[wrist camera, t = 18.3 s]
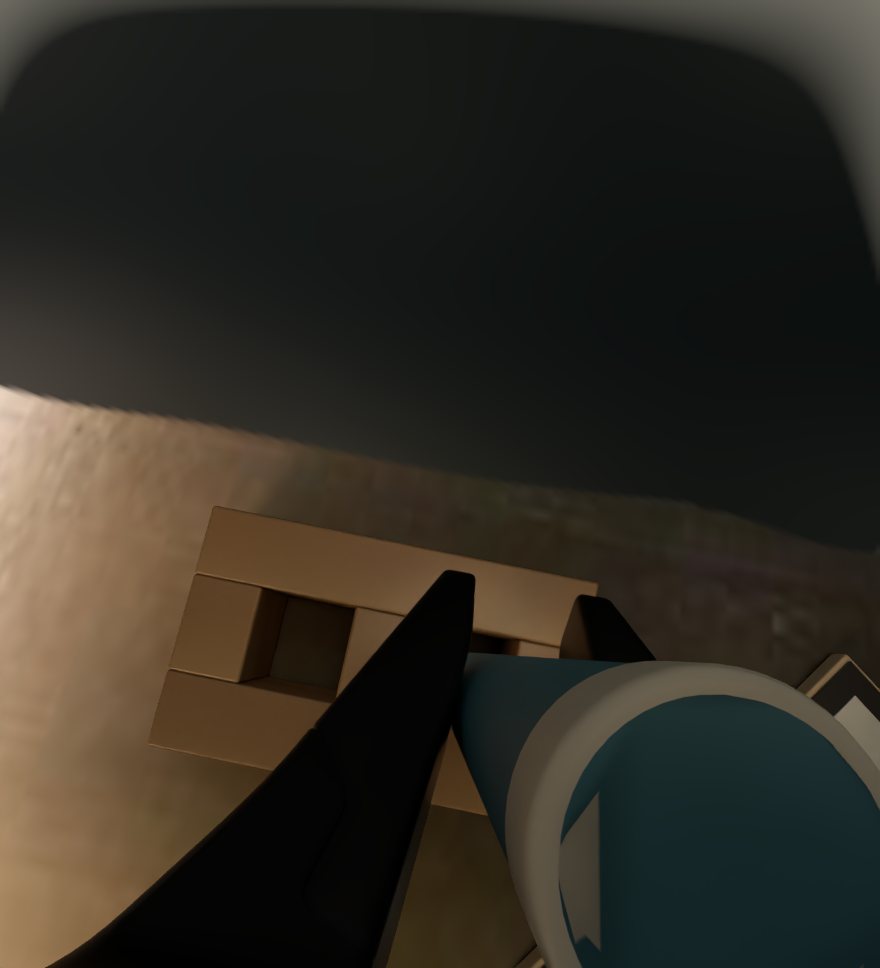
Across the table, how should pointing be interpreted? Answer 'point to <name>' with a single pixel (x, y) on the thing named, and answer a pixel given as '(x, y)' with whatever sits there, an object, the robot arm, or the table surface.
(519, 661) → the stylus
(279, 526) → the block
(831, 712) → the tablet
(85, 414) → the table surface
